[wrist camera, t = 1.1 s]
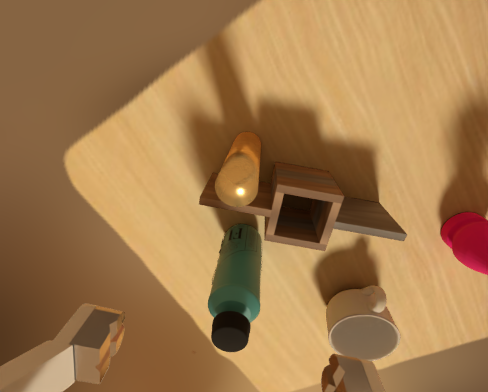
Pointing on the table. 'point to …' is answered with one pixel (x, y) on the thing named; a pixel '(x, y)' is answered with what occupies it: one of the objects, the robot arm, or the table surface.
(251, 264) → the beverage bottle
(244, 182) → the brass pin
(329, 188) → the brown winged open box
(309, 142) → the table surface
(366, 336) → the teacup
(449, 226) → the pepper mill
